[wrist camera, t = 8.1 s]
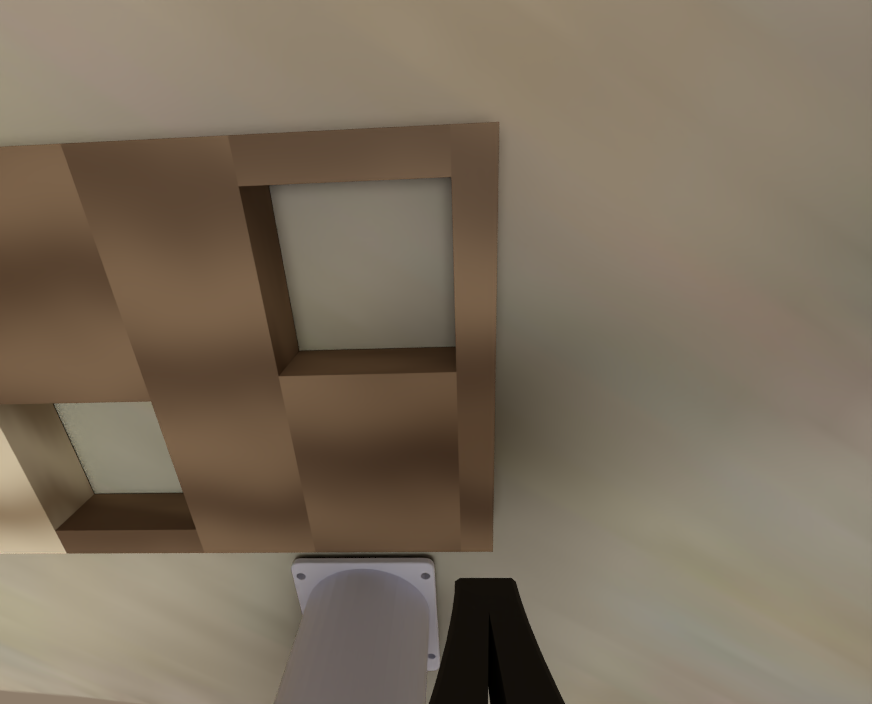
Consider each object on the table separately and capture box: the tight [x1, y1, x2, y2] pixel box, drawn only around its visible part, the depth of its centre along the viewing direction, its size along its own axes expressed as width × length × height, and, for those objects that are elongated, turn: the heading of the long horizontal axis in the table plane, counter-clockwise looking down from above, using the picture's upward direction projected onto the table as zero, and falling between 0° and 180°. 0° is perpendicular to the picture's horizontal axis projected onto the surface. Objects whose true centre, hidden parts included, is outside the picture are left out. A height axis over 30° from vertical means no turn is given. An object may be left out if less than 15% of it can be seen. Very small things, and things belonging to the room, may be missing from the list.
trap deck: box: [0, 122, 499, 554], centre depth 18 cm, size 18×27×4 cm, turn 92°
